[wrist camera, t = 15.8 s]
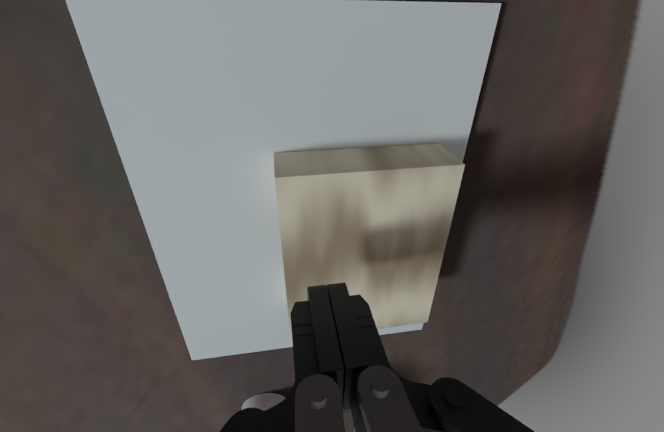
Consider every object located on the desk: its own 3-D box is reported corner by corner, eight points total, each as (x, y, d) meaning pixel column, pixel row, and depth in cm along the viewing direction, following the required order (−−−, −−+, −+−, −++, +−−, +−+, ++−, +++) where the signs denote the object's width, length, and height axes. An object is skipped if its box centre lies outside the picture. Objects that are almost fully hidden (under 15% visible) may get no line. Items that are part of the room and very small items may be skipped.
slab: (274, 177, 13) (465, 164, 14) (273, 152, 15) (438, 142, 16) (291, 341, 18) (427, 322, 19) (288, 304, 20) (410, 289, 22)
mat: (72, -6, 11) (63, -6, 11) (493, 3, 14) (501, 3, 13) (193, 352, 22) (192, 360, 22) (418, 322, 25) (421, 329, 24)
